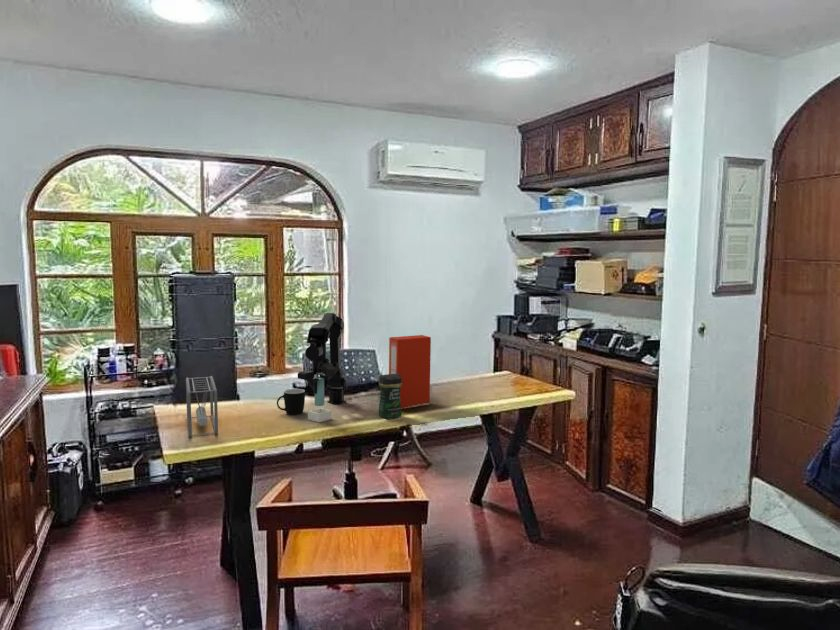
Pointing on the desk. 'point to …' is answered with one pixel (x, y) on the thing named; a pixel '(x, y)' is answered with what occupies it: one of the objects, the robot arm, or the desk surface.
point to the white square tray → (319, 415)
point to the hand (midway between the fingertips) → (319, 393)
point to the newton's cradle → (201, 410)
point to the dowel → (320, 393)
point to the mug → (293, 401)
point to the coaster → (353, 417)
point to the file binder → (411, 367)
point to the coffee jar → (390, 396)
